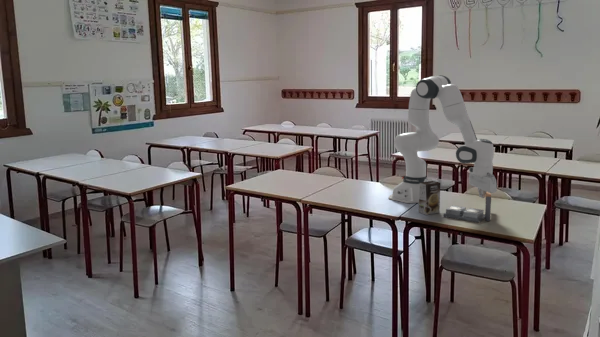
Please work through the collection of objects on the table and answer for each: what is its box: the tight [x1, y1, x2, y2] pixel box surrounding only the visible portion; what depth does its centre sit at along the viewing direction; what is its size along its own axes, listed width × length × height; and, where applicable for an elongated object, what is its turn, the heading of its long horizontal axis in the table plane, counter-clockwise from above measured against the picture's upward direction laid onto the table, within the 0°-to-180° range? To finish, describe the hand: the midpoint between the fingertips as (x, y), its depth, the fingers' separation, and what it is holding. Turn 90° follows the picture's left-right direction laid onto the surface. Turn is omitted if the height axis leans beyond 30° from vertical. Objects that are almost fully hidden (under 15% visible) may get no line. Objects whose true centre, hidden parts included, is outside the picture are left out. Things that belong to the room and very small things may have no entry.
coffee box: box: [418, 180, 441, 216], centre depth 264 cm, size 9×6×16 cm
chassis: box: [442, 204, 485, 223], centre depth 255 cm, size 18×10×4 cm, turn 51°
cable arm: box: [484, 192, 492, 222], centre depth 257 cm, size 24×3×12 cm, turn 160°
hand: (481, 197), depth 260 cm, fingers closed
